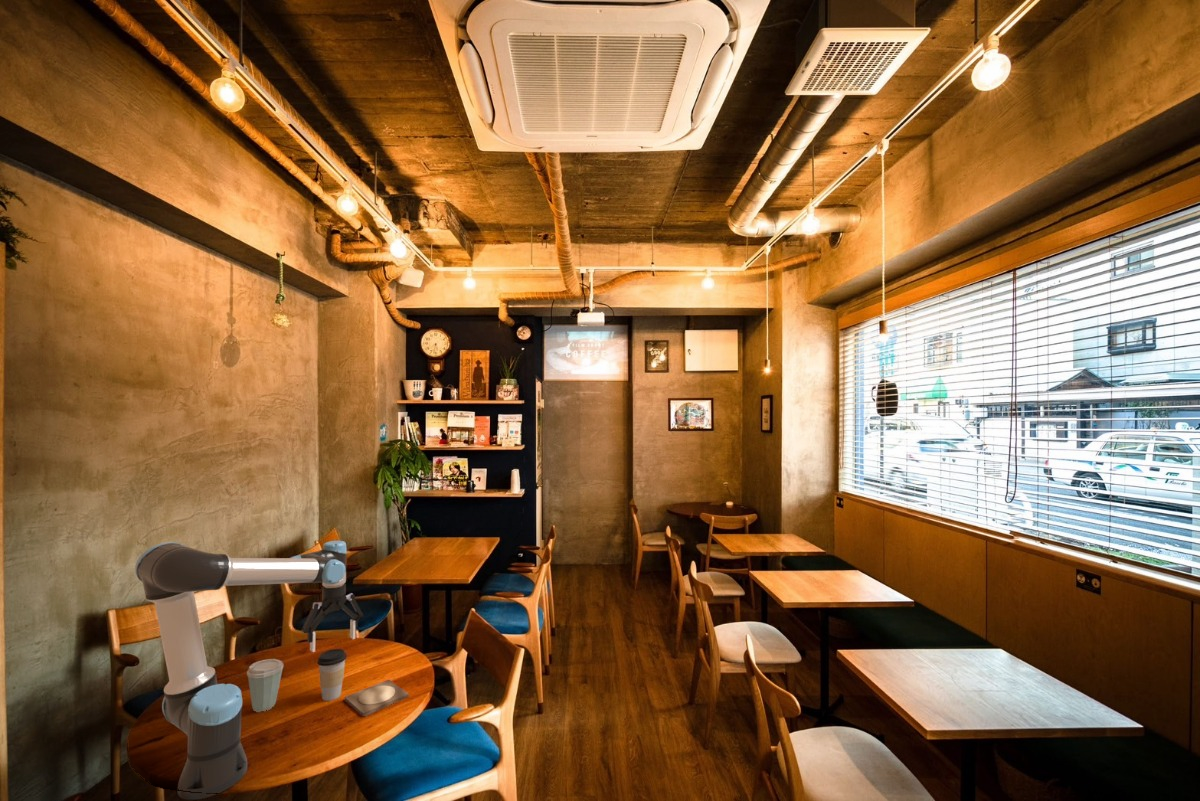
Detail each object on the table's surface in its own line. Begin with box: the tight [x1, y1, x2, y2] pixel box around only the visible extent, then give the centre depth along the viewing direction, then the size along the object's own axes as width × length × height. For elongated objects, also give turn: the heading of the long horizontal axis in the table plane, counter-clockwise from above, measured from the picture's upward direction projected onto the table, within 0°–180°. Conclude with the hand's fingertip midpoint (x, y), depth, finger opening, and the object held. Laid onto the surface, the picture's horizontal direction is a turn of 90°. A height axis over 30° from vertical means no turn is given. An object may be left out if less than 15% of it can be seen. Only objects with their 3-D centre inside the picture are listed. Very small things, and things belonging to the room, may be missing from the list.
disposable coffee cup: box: [246, 658, 284, 713], centre depth 172 cm, size 11×11×15 cm
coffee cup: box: [317, 648, 348, 702], centre depth 179 cm, size 9×9×15 cm
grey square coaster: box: [344, 679, 410, 718], centre depth 177 cm, size 16×15×2 cm
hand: (333, 644), depth 180 cm, fingers open, 13 cm apart
